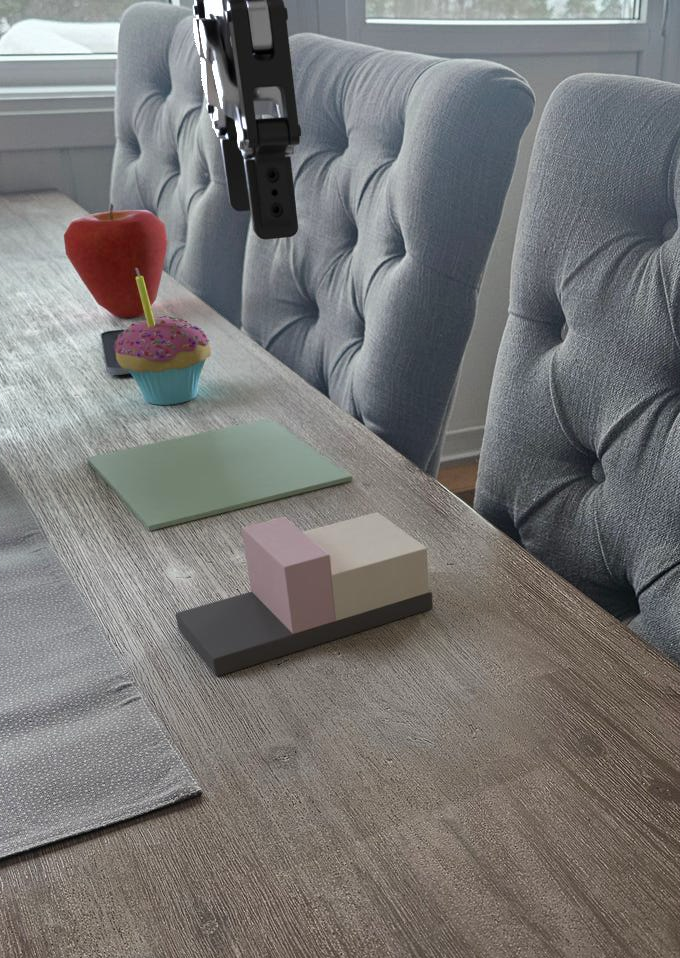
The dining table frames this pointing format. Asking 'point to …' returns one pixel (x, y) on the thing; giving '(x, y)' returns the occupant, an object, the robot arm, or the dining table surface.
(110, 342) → the smartphone
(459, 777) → the dining table surface
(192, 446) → the mat
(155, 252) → the apple
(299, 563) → the blocks on dark base
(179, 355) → the cupcake
